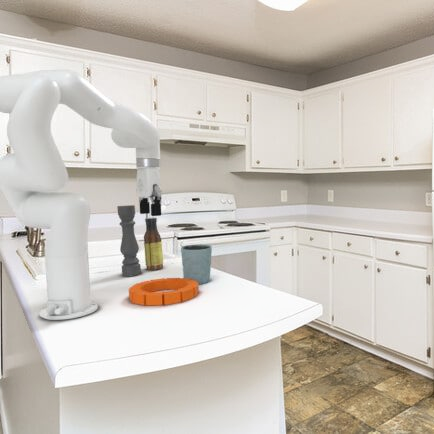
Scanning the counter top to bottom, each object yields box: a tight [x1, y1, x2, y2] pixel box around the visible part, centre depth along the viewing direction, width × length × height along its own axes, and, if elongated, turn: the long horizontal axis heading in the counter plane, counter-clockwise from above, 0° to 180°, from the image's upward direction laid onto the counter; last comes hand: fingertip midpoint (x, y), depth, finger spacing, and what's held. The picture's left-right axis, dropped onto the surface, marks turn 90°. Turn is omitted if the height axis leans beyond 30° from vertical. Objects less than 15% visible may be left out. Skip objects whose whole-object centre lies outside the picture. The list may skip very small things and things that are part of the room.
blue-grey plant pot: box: [180, 243, 213, 285], centre depth 139 cm, size 10×10×12 cm
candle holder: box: [116, 204, 142, 277], centre depth 147 cm, size 6×6×25 cm
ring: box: [128, 277, 199, 306], centre depth 123 cm, size 19×19×3 cm
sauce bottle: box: [143, 216, 164, 271], centre depth 156 cm, size 7×6×20 cm
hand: (150, 214), depth 139 cm, fingers open, 9 cm apart
